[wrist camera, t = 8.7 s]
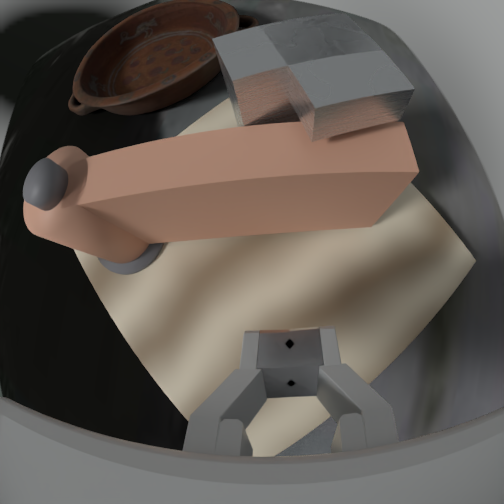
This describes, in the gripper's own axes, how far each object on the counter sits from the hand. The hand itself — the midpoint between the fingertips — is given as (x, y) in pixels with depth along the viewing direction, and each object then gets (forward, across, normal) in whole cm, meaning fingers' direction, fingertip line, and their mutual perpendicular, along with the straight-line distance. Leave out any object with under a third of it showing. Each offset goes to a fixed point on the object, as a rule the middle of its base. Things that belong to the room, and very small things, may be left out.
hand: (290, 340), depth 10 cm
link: (+10, +4, 0) cm, 11 cm away
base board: (+11, +2, +3) cm, 11 cm away
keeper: (+13, -1, -1) cm, 13 cm away
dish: (+26, +11, -12) cm, 30 cm away
